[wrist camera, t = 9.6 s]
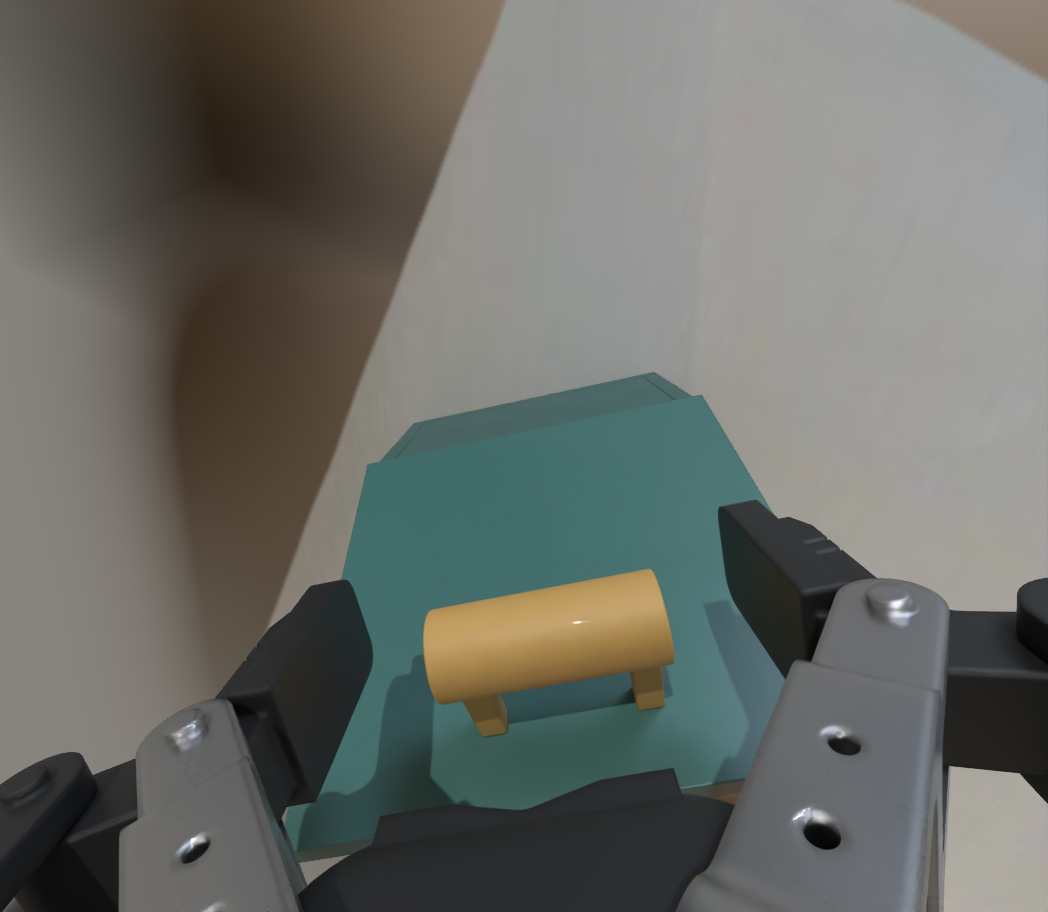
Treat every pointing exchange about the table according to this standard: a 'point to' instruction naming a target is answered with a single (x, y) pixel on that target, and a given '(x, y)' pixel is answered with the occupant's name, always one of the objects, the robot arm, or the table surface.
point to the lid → (546, 623)
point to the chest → (535, 414)
